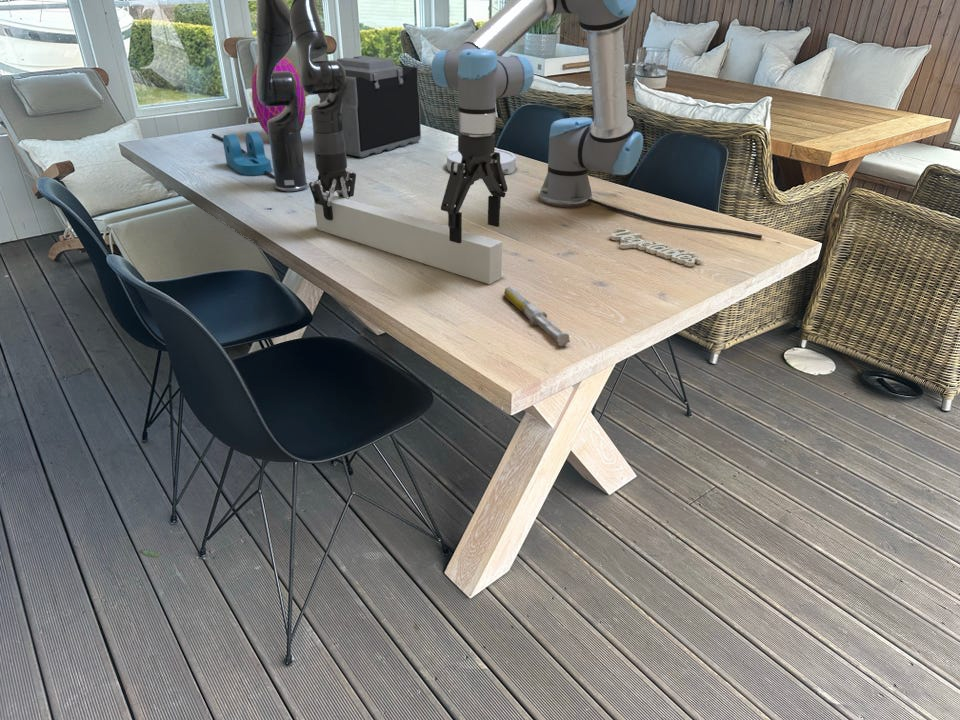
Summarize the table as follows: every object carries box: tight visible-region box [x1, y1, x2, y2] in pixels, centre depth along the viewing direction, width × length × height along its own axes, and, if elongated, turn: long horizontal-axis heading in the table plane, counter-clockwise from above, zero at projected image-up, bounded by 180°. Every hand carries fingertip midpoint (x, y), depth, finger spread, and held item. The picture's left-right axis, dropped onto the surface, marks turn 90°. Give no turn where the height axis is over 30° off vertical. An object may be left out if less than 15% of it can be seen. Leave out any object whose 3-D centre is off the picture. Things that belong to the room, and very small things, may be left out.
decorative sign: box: [610, 227, 702, 267], centre depth 169 cm, size 26×1×10 cm
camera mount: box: [222, 131, 272, 176], centre depth 226 cm, size 18×10×10 cm, turn 35°
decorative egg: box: [251, 56, 307, 136], centre depth 257 cm, size 19×19×30 cm
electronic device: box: [317, 55, 422, 159], centre depth 250 cm, size 37×22×30 cm, turn 144°
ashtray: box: [446, 148, 517, 175], centre depth 232 cm, size 23×23×4 cm
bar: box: [313, 194, 503, 285], centre depth 164 cm, size 56×4×9 cm, turn 53°
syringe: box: [504, 285, 571, 348], centre depth 136 cm, size 25×4×3 cm, turn 21°
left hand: (336, 216), depth 176 cm, fingers closed on bar, 4 cm apart
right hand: (475, 233), depth 150 cm, fingers open, 13 cm apart
